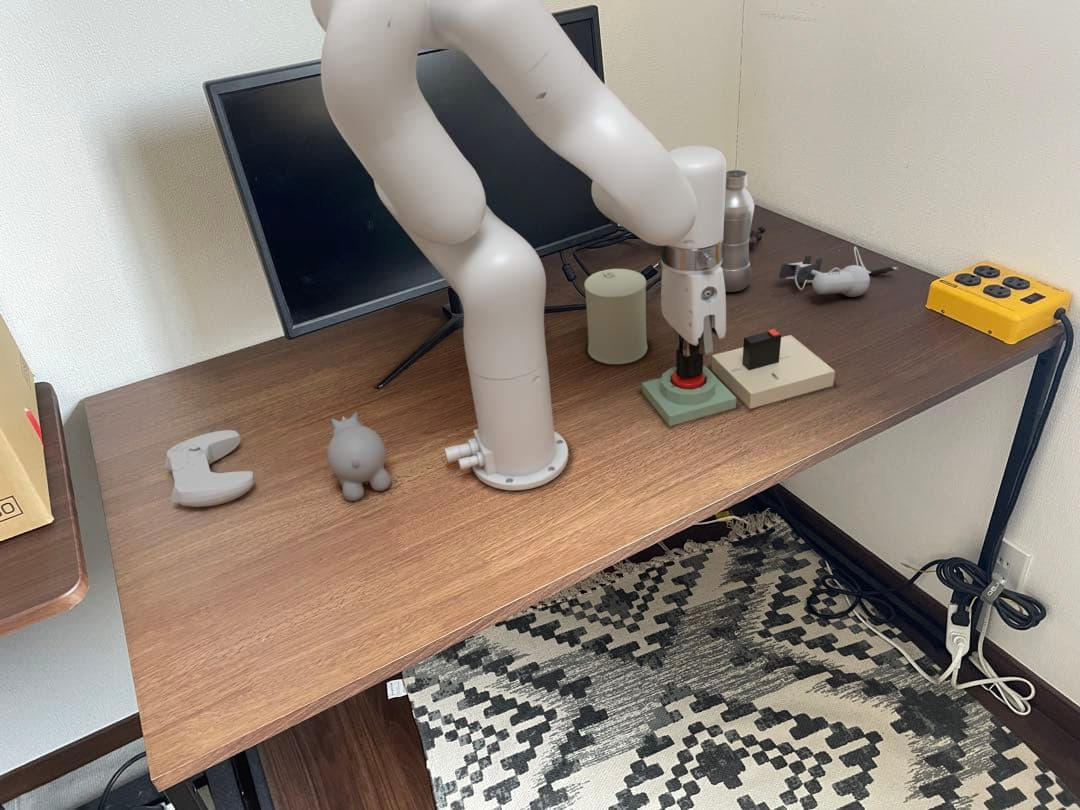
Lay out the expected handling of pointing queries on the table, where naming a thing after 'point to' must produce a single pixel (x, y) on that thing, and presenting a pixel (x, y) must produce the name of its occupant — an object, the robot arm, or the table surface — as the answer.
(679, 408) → the power switch
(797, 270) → the clip-on lamp
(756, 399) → the panel
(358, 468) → the chubby cartoon animal
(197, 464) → the game controller
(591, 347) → the can
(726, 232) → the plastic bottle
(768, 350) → the knob
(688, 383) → the power button
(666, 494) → the table surface
